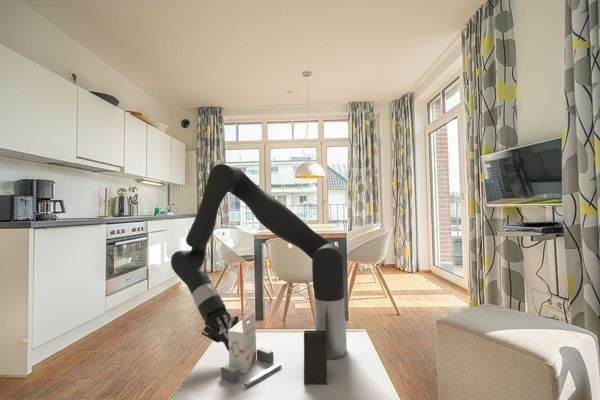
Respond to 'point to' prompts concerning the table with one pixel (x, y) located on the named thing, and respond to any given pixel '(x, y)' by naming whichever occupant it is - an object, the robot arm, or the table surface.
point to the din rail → (262, 375)
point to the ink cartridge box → (242, 344)
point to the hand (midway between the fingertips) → (234, 350)
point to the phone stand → (315, 357)
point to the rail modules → (232, 373)
